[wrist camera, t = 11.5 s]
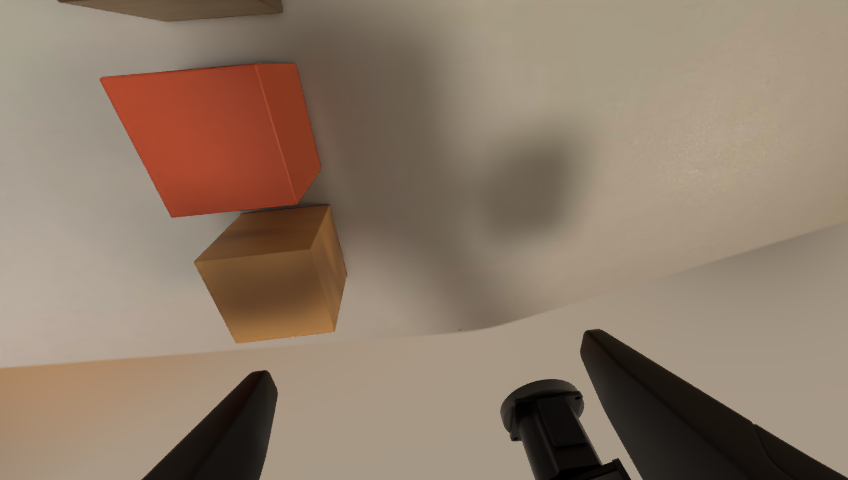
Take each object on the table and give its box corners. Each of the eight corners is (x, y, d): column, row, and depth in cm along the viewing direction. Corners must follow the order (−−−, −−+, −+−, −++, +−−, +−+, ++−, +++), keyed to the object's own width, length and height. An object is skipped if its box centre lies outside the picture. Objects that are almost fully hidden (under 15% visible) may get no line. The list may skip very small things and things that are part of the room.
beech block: (346, 275, 21) (334, 332, 16) (269, 284, 20) (235, 344, 16) (329, 204, 18) (310, 249, 14) (241, 213, 18) (192, 261, 14)
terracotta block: (321, 169, 17) (297, 205, 13) (227, 178, 17) (170, 218, 13) (296, 63, 15) (255, 63, 10) (185, 73, 14) (96, 77, 10)
